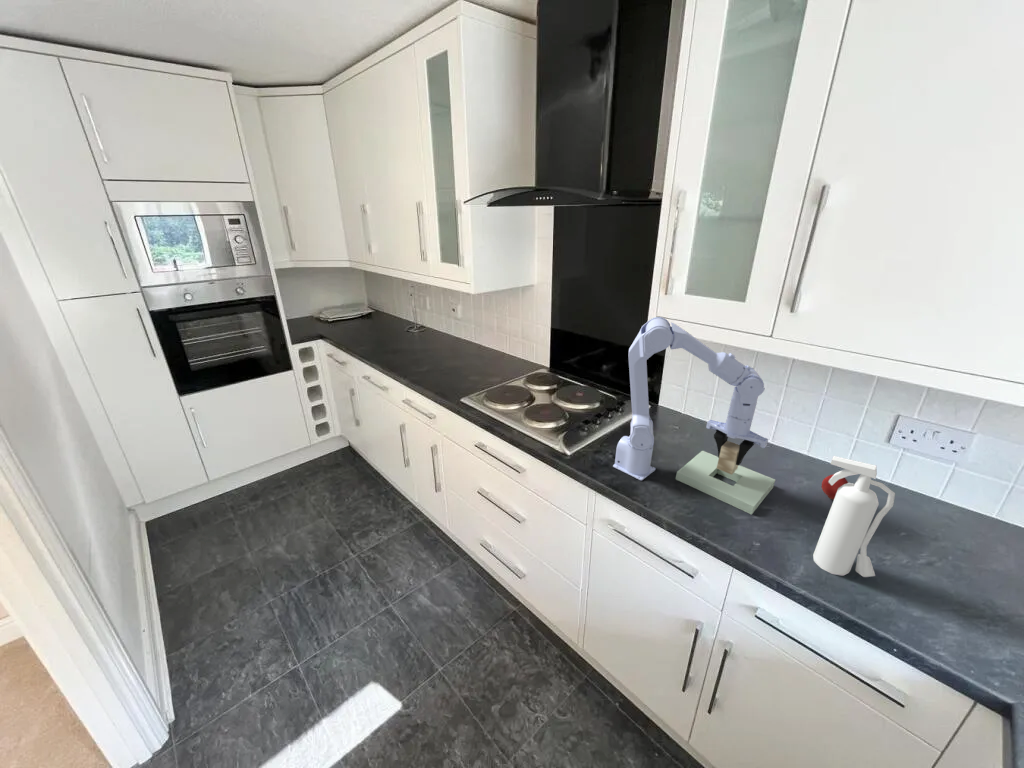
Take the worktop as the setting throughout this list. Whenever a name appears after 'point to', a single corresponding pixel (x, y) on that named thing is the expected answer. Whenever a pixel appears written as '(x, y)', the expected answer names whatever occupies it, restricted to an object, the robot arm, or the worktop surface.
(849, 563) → the fire extinguisher
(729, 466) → the beech block
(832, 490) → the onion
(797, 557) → the worktop surface
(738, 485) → the well board
